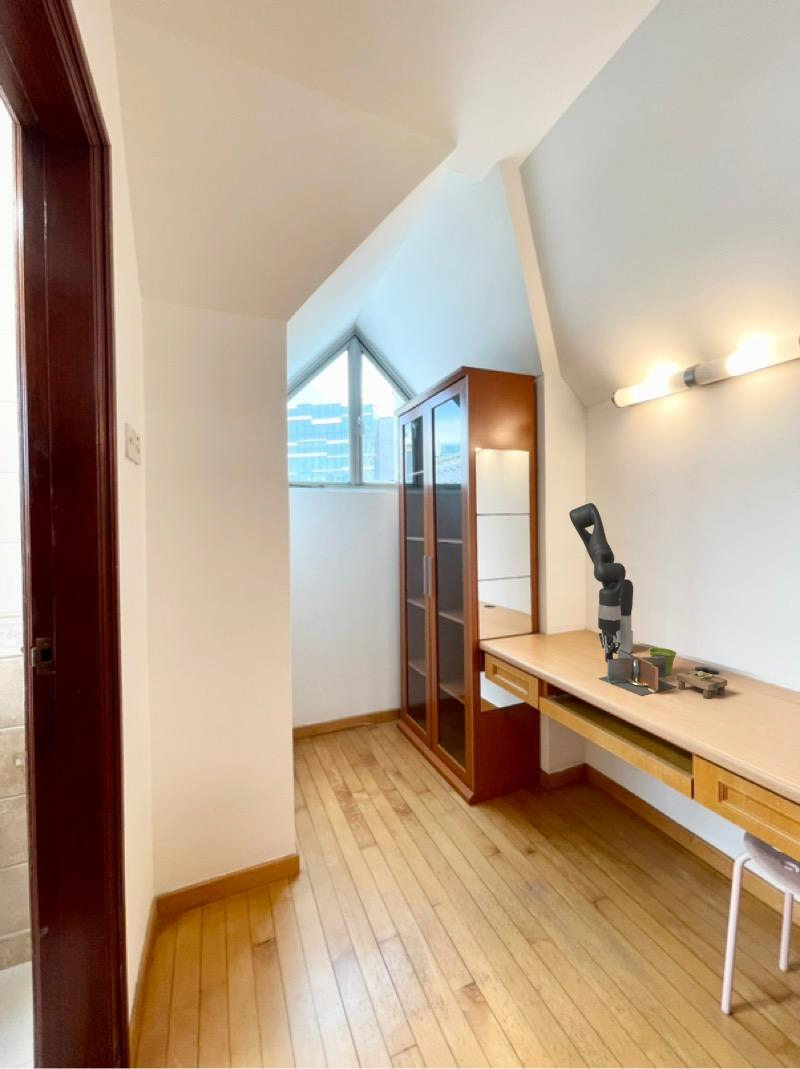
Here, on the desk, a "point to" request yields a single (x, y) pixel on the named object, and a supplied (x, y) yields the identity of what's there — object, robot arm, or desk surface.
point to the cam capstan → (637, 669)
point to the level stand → (702, 682)
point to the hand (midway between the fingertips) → (609, 662)
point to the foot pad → (639, 689)
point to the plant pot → (666, 653)
